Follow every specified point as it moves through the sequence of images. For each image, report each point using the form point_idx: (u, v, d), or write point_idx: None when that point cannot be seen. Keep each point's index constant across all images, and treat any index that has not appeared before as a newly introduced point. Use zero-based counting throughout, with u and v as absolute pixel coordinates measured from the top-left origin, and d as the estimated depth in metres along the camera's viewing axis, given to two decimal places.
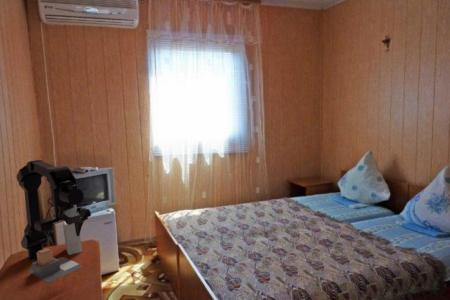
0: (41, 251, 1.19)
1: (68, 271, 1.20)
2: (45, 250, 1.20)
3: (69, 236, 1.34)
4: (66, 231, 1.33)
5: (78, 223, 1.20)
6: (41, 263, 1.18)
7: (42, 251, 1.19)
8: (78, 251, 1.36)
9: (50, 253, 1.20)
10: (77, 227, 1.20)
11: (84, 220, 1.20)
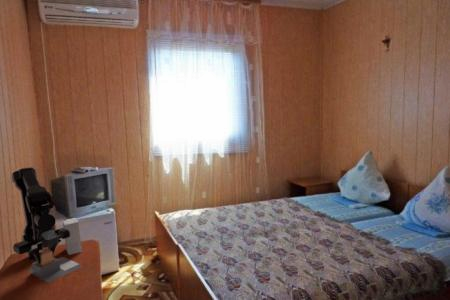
0: (41, 251, 1.19)
1: (68, 271, 1.20)
2: (45, 250, 1.20)
3: None
4: None
5: (51, 246, 1.21)
6: (41, 263, 1.18)
7: (42, 251, 1.19)
8: (78, 251, 1.36)
9: (50, 253, 1.20)
10: None
11: (57, 243, 1.22)
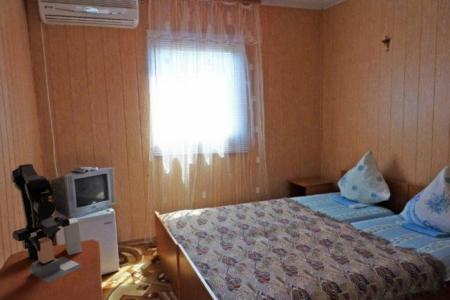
0: (40, 240, 1.19)
1: (68, 271, 1.20)
2: (44, 239, 1.20)
3: (69, 236, 1.34)
4: (66, 231, 1.33)
5: (51, 234, 1.21)
6: (41, 252, 1.18)
7: (41, 240, 1.19)
8: (78, 251, 1.36)
9: (49, 242, 1.20)
10: (50, 238, 1.21)
11: (57, 231, 1.21)
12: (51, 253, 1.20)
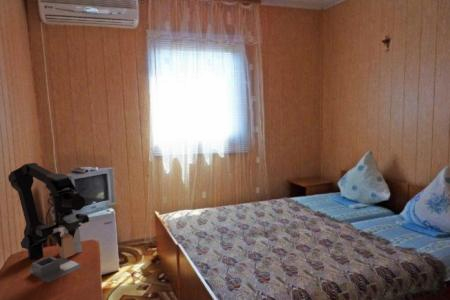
0: (62, 235, 1.23)
1: (68, 271, 1.20)
2: (65, 234, 1.23)
3: None
4: (66, 231, 1.33)
5: (71, 230, 1.25)
6: (62, 247, 1.22)
7: (63, 235, 1.23)
8: (78, 251, 1.36)
9: (70, 237, 1.23)
10: None
11: (77, 227, 1.25)
12: (72, 248, 1.24)
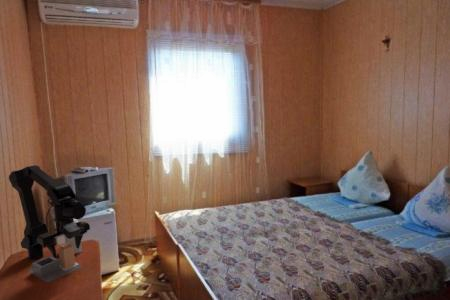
0: (63, 246, 1.23)
1: (68, 271, 1.20)
2: (66, 245, 1.24)
3: None
4: None
5: (78, 236, 1.27)
6: (63, 257, 1.22)
7: (64, 246, 1.23)
8: (78, 251, 1.36)
9: (71, 248, 1.24)
10: (77, 240, 1.28)
11: (83, 233, 1.27)
12: (72, 259, 1.24)
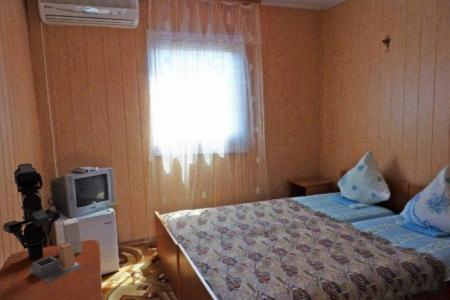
0: (63, 246, 1.23)
1: (68, 271, 1.20)
2: (66, 245, 1.24)
3: (69, 236, 1.34)
4: (66, 231, 1.33)
5: (47, 224, 1.24)
6: (63, 257, 1.22)
7: (64, 246, 1.23)
8: (78, 251, 1.36)
9: (71, 248, 1.24)
10: (46, 228, 1.25)
11: (53, 221, 1.24)
12: (72, 259, 1.24)
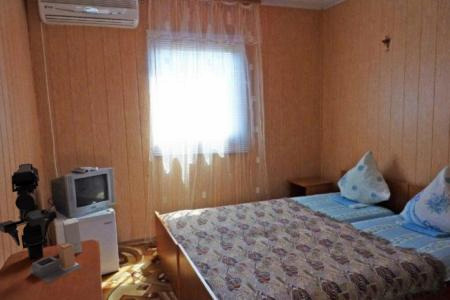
0: (63, 246, 1.23)
1: (68, 271, 1.20)
2: (66, 245, 1.24)
3: (69, 236, 1.34)
4: (66, 231, 1.33)
5: (44, 225, 1.24)
6: (63, 257, 1.22)
7: (64, 246, 1.23)
8: (78, 251, 1.36)
9: (71, 248, 1.24)
10: (43, 228, 1.24)
11: (50, 222, 1.24)
12: (72, 259, 1.24)
